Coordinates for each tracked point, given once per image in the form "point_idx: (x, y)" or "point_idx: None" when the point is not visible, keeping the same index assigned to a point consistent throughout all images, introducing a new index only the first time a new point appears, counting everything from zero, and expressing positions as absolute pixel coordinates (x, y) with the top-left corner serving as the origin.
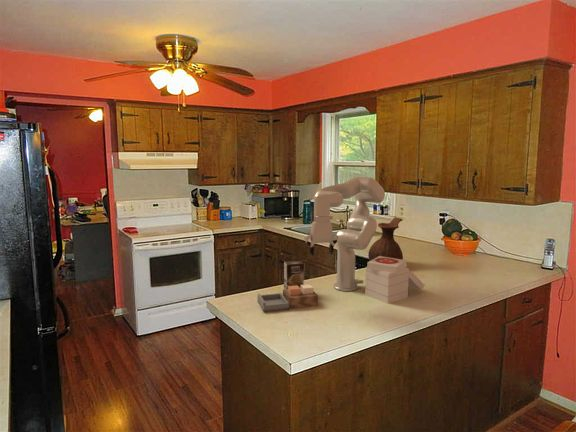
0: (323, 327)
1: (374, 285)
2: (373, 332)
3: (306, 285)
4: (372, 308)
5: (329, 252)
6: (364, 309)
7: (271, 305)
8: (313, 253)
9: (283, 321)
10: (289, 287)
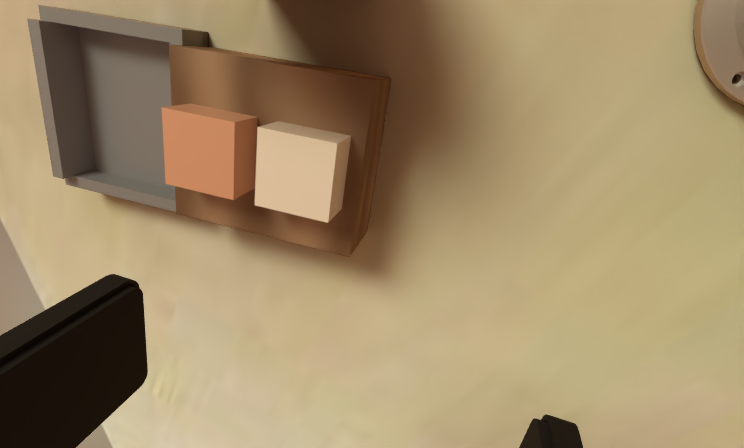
0: (282, 415)
1: None
2: None
3: (297, 158)
4: (619, 407)
5: (531, 424)
6: (567, 393)
7: (103, 193)
8: (118, 401)
9: (159, 300)
10: (168, 139)
